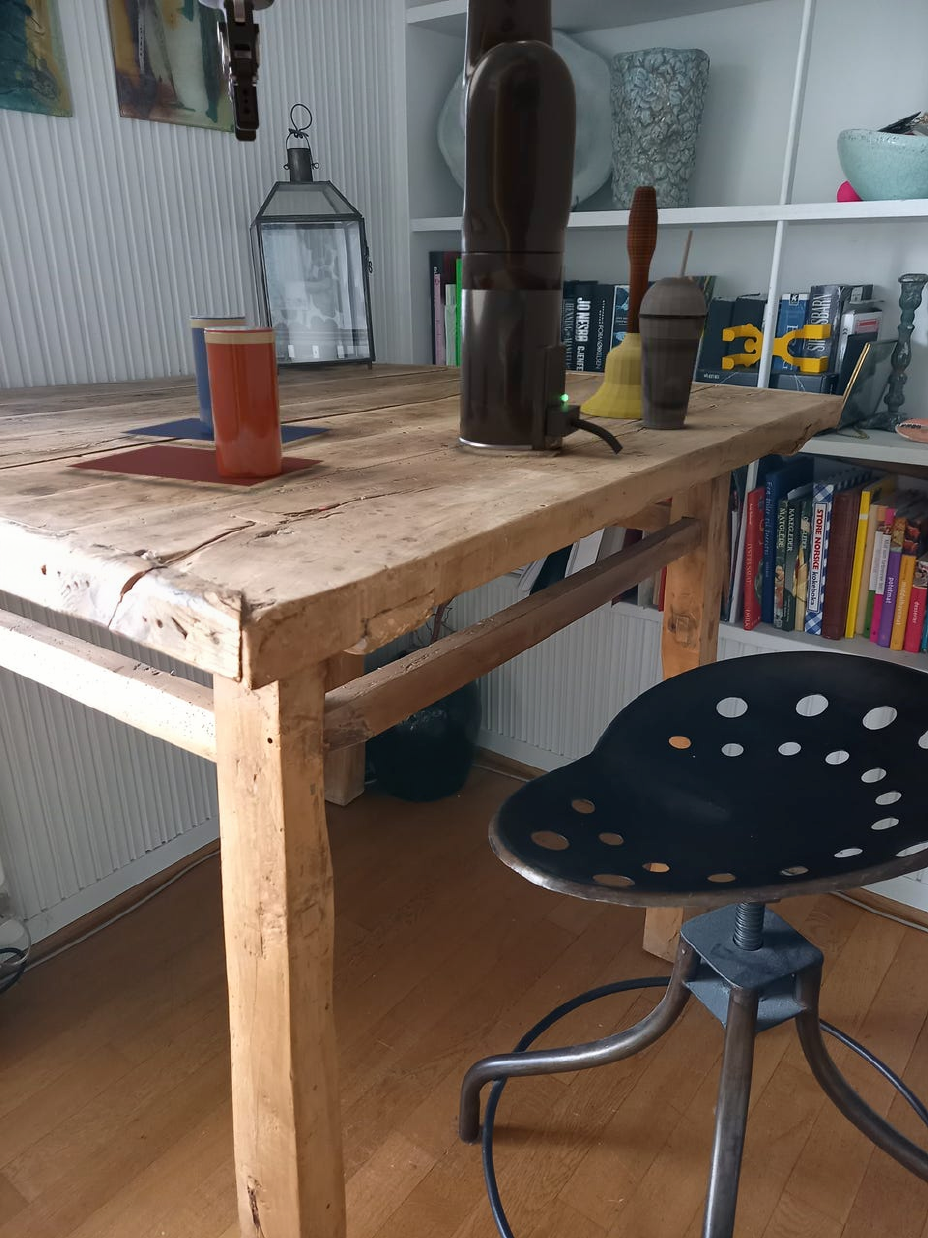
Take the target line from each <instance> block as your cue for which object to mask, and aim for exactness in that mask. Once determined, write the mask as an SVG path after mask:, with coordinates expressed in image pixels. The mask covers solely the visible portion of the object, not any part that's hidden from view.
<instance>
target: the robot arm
mask: <svg viewBox="0 0 928 1238" xmlns="http://www.w3.org/2000/svg"><path fill="white" fill-rule="evenodd" d="M198 2H200V4H202V5H204V6H205V7H208V8H210V9H214V10H215V9H219V10H221V11H222V13H223V14H224V21H217V23H216V24H217V38H218V39H217V41H218V48H219V50H220V51H221V58H222V69H223V76H224V79H226V80H227V81H228V87H227V94H228V97H229V98H230V102H231V106H232V118H233V129H234V138H235V140H237V141H238V142H241V143H242V142H245V143H247V142H248V143H250V142H251V143H252V142H255V141H256V139H257V130H259V127H260V115H259V101H258V90H257V89H258V88H257V85H258V81H259V71H258V70H259V69H260V67H261V51H260V44H261V30H260V23H254V22H255V20H254V11H255V12H259V11H263V10H266V9H269V8H271V6H272V5H273V4H274V3H275V0H198ZM553 35H554V33H553V0H466V29H465V47H464V48H465V49H464V62H463V72H462V73H463V75H462V85H461V95H460V100H459V101H460V103H459V114H458V115H459V125H460V130H461V132H462V136H463V139H464V196H463V207H462V208H463V209H462V218H461V228H460V229H461V231H460V236H461V237H460V238H461V239H460V240H461V242H460V243H461V244H460V245H461V247H460V248H461V250H460V252H461V254H460V255H461V261H460V262H461V263H460V264H461V265H460V266H461V267H460V277H461V279H460V284H461V285H460V288H461V290H460V379H459V380H460V381H459V382H460V387H459V390H460V392H459V397H460V398H459V399H460V400H459V402H460V403H459V405H460V409H459V410H460V412H459V413H460V417H459V418H460V419H459V420H460V421H459V436H458V442H459V444H460V445H462V446H464V447H467V448H471V449H477V450H485V451H496V452H497V451H498V452H526V451H527V452H528V451H529V452H530V451H535V452H536V451H537V452H545V451H548V450H552V451H553V450H556V449H557V448H559V447H561V446H563V443H564V441H563V440H564V438H566V437H569V436H570V435H572V434H574V433H576V432H578V431H580V430H582V431H583V432H587V433H591V434H593V435H595V436H597V437H598V438H600V439H601V440H603V441H604V442H605V443H606V444H607V445H608V446H609V448H610V449H611V450H612V451H613V453H614V454H615V455H617V454H620V452H621V451H623V449H624V446H622V444H621V443H620V442H619V440H618V439H617V438H616V437H615V436H614V434H612V433H611V432H610V431H609V430H608V429H606V428H604V427H603V426H600V425H598V424H596V423H593V422H590V421H587V420H584V419H582V418H580V416H581V411H580V408H581V405H579V404H565V402H567V400H568V399H569V396H568V395H567V394H566V379H567V378H566V377H567V357H568V356H567V354H568V345H567V343H566V342H563V341H562V340H561V339H562V319H563V318H562V315H563V297H564V295H563V293H564V291H563V289H564V271H565V253H566V251H565V250H566V236H567V229H568V225H569V221H570V217H571V212H572V206H573V205H572V204H573V190H574V177H575V163H576V162H575V160H576V147H577V146H576V144H577V125H578V99H577V89H576V85H575V81H574V78H573V75H572V72H571V70H570V68H569V66H568V64H567V62H566V61H565V59H564V58H563V57H562V56H561V55H560V53H558V51H557V50H556V49H554V36H553Z"/></svg>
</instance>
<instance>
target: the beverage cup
mask: <svg viewBox="0 0 928 1238" xmlns="http://www.w3.org/2000/svg"><path fill="white" fill-rule="evenodd" d="M693 232H694V230H693V229H688V230H687V235H686V239H685V246H684V250H683V255H682V260H681V265H680V271H679V276H677V277H674V276H671V277H670V276H669V277H667V276H665V277H663V278H660V279H659V280H657V281H655V282H654V283H653V284H652V285H651V286H650V287H649V288H648V291H647V293H646V294H645V296H644V298H643V300H642V303H641V307H640V313H639V314H638V318H639V330H640V336H641V388H642V419H641V420H642V427H644V428H647V429H655V430H680V429H683V428H684V426H685V421H686V416H687V413H688V409H689V404H690V403H689V402H690V398H691V390H692V386H693V380H694V375H695V370H696V369H695V368H696V363H697V358H698V353H699V347H700V343H701V342H700V340H701V338H702V337H703V333H704V330H705V326H706V320H707V319H708V315H707V303H706V299H705V296H704V294H703V291H702V290H701V288H700V287H699V285H698V284H697V283H696V282H694V281H693V280H692V279H690V278H688V277H685V274H686V273H685V272H686V268H687V263H688V258H689V254H690V248H691V242H692V237H693Z"/></svg>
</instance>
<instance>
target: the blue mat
mask: <svg viewBox="0 0 928 1238" xmlns="http://www.w3.org/2000/svg"><path fill="white" fill-rule="evenodd" d="M332 430H334V428H325V427H315V426H313V427H312V426H303V425H302V426H300V425H287V424H281V436H282V445H284V444H287V443H290V442H294V441H297V440H300V439H304V438H307V437H312V436H314V435H318V434H321V433H325V432H329V431H332ZM119 433H120V434H129V435H138V436H141V435H142V436H148V437H149V436H150V437H161V438H173V439H184V440H194V441H195V440H196V441H206V442H207V441H208V442H215V439H214V434H206V433H203V432H201V426H200V417H197V418H196V417H189V418H183V419H178V420H175V421H174V420H173V421H170V422H165V423H159V424H155V425H151V426H144V427H140V428H135V429H131V430H130V429H129V430H126V431H125V430H124V431H121V432H119Z"/></svg>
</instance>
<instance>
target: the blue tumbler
mask: <svg viewBox="0 0 928 1238" xmlns="http://www.w3.org/2000/svg"><path fill="white" fill-rule="evenodd" d="M189 326H190V329H191V330H190V332H191V340H192V350H193V351H192V352H193V361H194V372H195V382H196V384H195V385H196V393H197V402H198V403H197V404H198V414H199V419H200V426H201V432H203V433H206V434H214V428H213V417H212V406H211V395H210V384H209V373H208V362H207V351H206V342H205V337H204V331H205V328H209V327H227V326H247V318H246V316H245V315H238V314H200V315H190V316H189Z"/></svg>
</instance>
